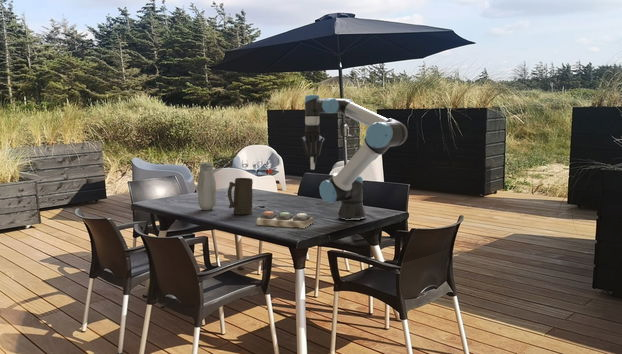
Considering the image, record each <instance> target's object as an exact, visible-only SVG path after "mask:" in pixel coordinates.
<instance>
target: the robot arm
mask: <svg viewBox="0 0 622 354" xmlns="http://www.w3.org/2000/svg"><path fill="white" fill-rule="evenodd" d="M304 113H305V114H304V115H305V116H304V117H305V118H304V124H305V126H304V128H305V129H304V132H305V133H304V136H302V137H300V141H301V143H302V147H303V151H304V154H305V156H306V157H308V163H309V164H310V170H315V168H316V165H315V164H317V157H318V156H319V157H320V155H321V153H322V152H321V151H322V147H323V143H324V141H325V138H324V137H322V136H321V133H320V132H321V131H320V130H321V129H320V114H342V115H344V116H346V117H349V118H350V119H352V120H354V121H355V122H358V123H360V124H362V125H364V126H366V127H367V129H366V131H365V137H364V138H363V140H364V141H363V142H364V143H363V144H362V145H361V146H360V147H359V149H358V150H356V152H355V153H354V155H352V157H350V159H349V160H348V161H347V163H346V164H345V165H344V166H343V167H342V168H341V169H340V170H339V172H338V171H337V172H335V173H333V174H332V175H331V177H329V178H328V179H325V180H323V181H322V182H320V185H319V187H318V188H319V194H320V197H321V199H322V200H323V201H324V202H325V203H329V204H333V203H337V202H338V203H339V202H340V205H339V207H338V212H337V217H339V218H345V219H351V218H361V217H365V216H367V215H366V210H365V208H364V204H363V197H364V196H363V194H364V193H363V192H364V191H363V189H364V188H363V186H364V182H363V177H362V176H361V174H362V173H363V172H364V171H365V170H366V169H367V168H368V167H369V166H370V164H371V163H372V162H373V161H374V160H375V159H376V158H377V157H378V156H379V155H380V156H381V155H384V154H385V153H386V152H387V150H389V149H390V148H391V147H398V146H401V145H402V144H404V143H405V142H406V140H407V138H408V128H407V127H406V125H405V124H403V122H400V121H398V120H396V119H394V118H391V117H390V118H386V117H385V116H382V115H380V114H377V113H376V112H373V111H371V110H369V109H367V108H365V107H362V106H360V105H358V104H356V103H354V102H353V100H352V99H350V98H346V97H345V98H336V97H335V98H334V97H325V98H320V95H319V94H307V95H305V96H304ZM318 141H319V142H318ZM317 144H318V146H317ZM337 217H336V218H337Z"/></svg>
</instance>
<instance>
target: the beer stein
mask: <svg viewBox="0 0 622 354" xmlns="http://www.w3.org/2000/svg"><path fill="white" fill-rule="evenodd" d="M253 183H254V180H253V178H250V177H237V178H236V177H235V179H234V182H233V181H230V182H229V185H228V189H227V199H228V201H229V205H228V209H233V214H236V215H252V214H253ZM233 188H234V190H233ZM232 190H233V193H232ZM232 194H233V196H232Z"/></svg>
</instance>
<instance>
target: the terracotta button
mask: <svg viewBox="0 0 622 354" xmlns="http://www.w3.org/2000/svg"><path fill="white" fill-rule="evenodd" d="M274 213H275V212H274V211H270V210H269V211H267V210H266V211H263V214H264V215H268V216H272V215H274Z"/></svg>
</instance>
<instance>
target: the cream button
mask: <svg viewBox="0 0 622 354" xmlns="http://www.w3.org/2000/svg"><path fill="white" fill-rule="evenodd" d="M296 215H297V217H298V218H306V217H307V213H304V212H303V213H302V212H300V213H297V214H296Z"/></svg>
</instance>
